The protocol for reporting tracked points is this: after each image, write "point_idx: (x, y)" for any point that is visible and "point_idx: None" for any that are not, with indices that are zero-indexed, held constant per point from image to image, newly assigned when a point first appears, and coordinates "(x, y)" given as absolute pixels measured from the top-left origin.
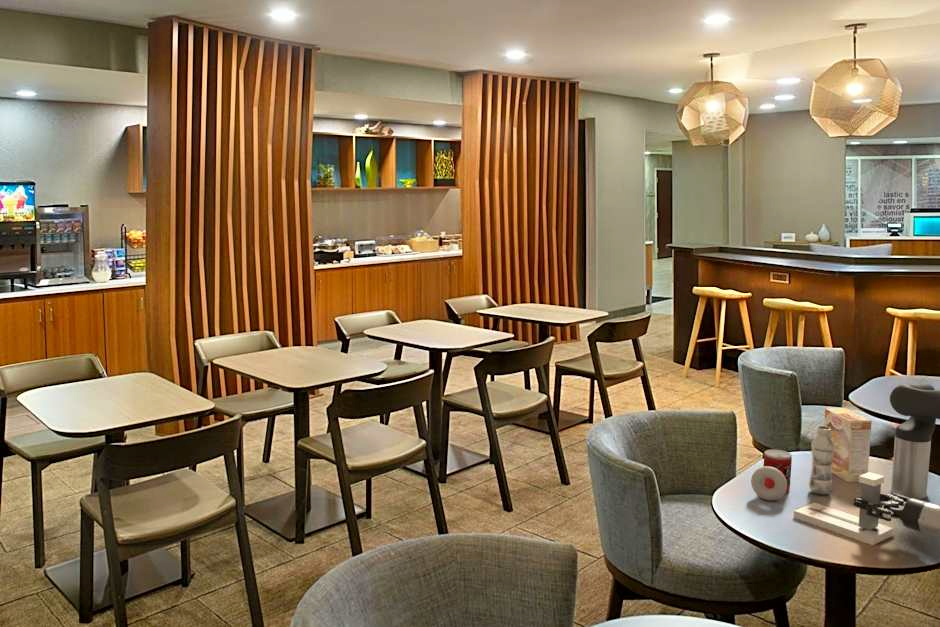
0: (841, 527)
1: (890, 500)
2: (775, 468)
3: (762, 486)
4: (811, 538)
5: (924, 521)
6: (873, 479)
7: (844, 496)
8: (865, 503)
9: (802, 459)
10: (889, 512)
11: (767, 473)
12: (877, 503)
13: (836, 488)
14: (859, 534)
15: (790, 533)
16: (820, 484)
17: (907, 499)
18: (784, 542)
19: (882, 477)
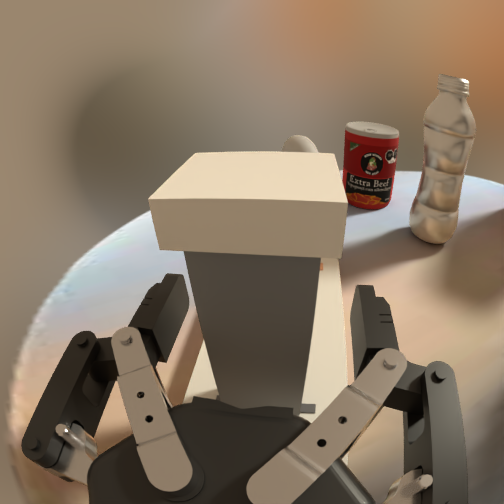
0: (203, 343)
1: (291, 411)
2: (305, 140)
3: None
4: (127, 317)
5: None
6: (168, 191)
7: (466, 264)
8: (138, 323)
9: (493, 190)
10: (24, 448)
11: (287, 148)
12: (135, 368)
13: (477, 243)
14: (185, 402)
15: (135, 281)
16: (419, 214)
17: (417, 479)
18: (80, 289)
19: (303, 204)
